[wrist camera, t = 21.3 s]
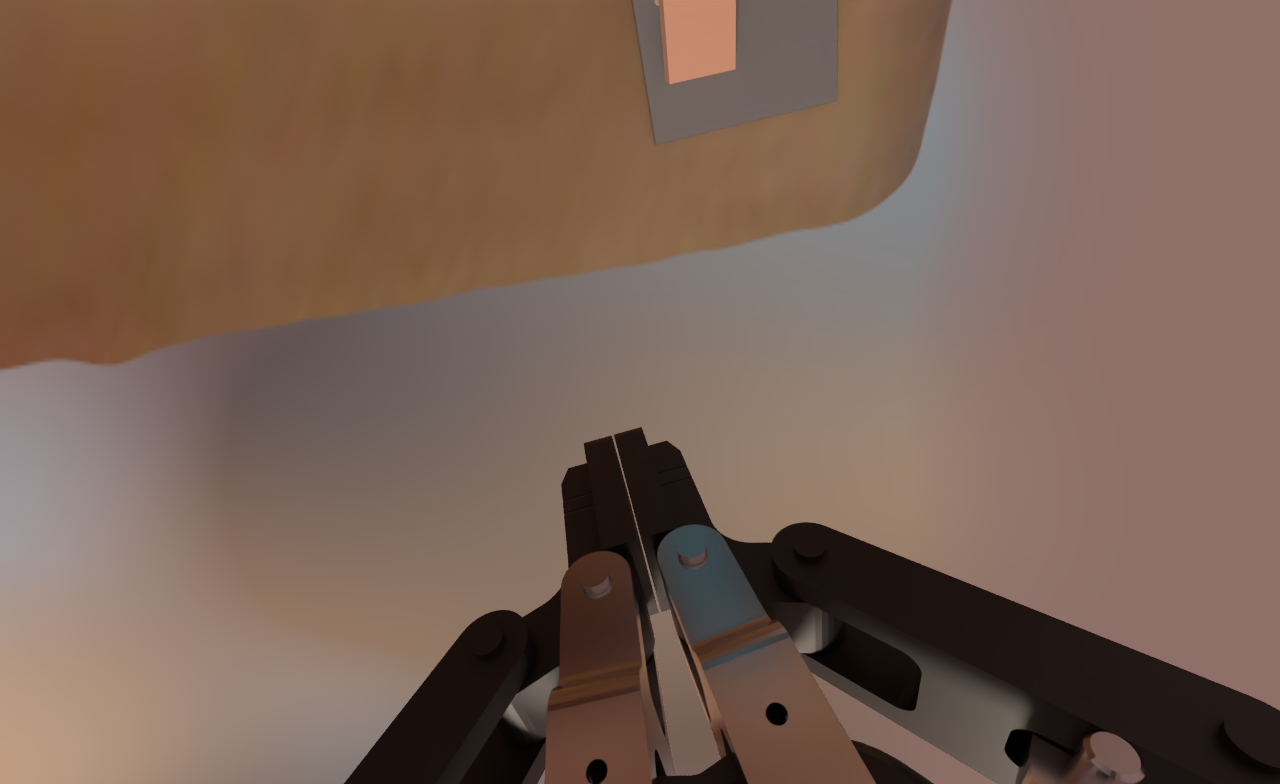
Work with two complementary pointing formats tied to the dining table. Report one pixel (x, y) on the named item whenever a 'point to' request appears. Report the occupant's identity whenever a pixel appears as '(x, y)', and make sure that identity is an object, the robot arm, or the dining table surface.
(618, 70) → the dining table surface
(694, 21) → the terracotta tile
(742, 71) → the mat
